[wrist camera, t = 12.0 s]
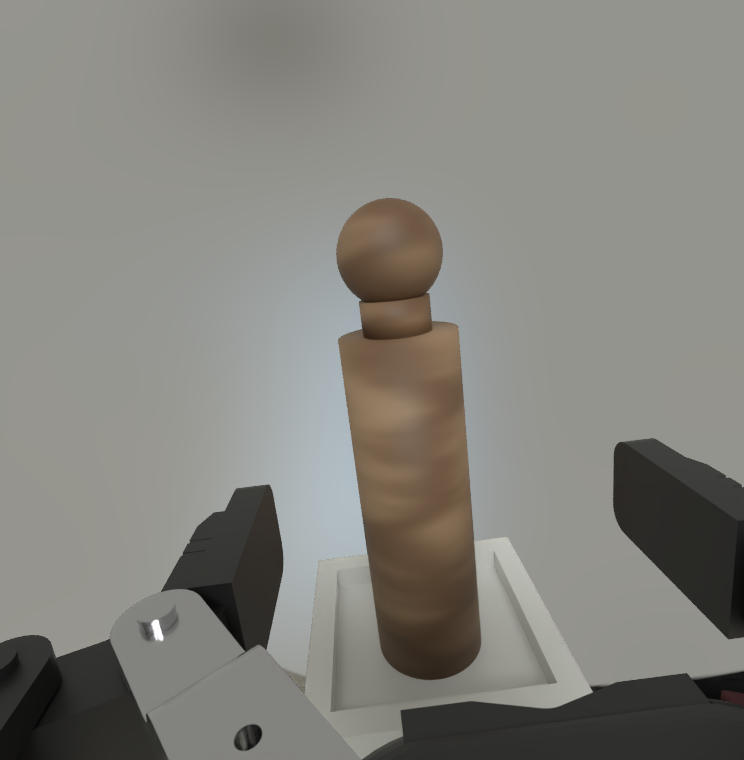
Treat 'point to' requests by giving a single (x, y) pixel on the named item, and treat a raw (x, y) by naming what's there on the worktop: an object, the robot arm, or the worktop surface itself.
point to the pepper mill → (409, 442)
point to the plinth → (476, 683)
